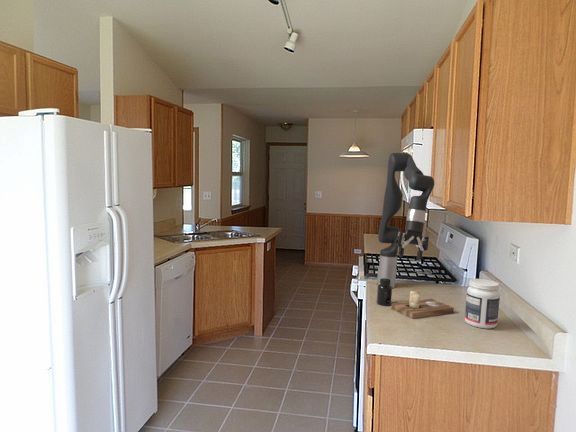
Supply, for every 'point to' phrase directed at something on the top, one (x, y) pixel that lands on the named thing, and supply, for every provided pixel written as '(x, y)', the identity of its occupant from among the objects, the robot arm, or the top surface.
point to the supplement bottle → (384, 292)
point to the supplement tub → (482, 303)
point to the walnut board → (423, 308)
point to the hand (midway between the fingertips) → (409, 258)
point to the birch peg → (414, 300)
